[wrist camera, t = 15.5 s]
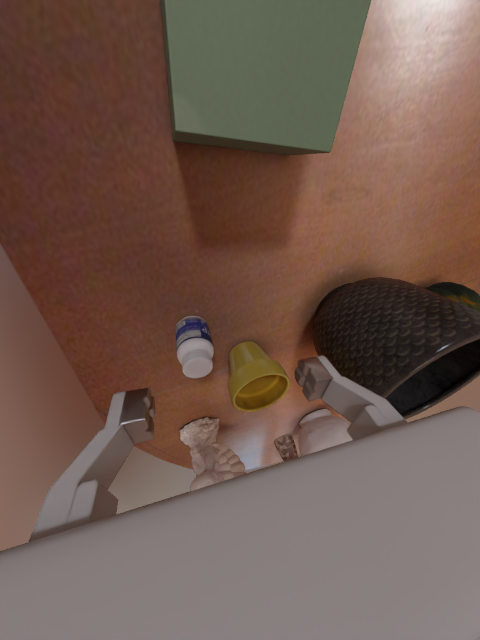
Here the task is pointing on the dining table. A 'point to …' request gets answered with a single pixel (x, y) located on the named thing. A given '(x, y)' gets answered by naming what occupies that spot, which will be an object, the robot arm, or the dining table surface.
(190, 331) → the pill bottle
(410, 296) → the planter
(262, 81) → the green drawer cabinet
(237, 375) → the flower pot
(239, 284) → the dining table surface
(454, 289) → the squash
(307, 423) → the vase
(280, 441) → the figurine
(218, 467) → the cherub figurine
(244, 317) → the dining table surface
